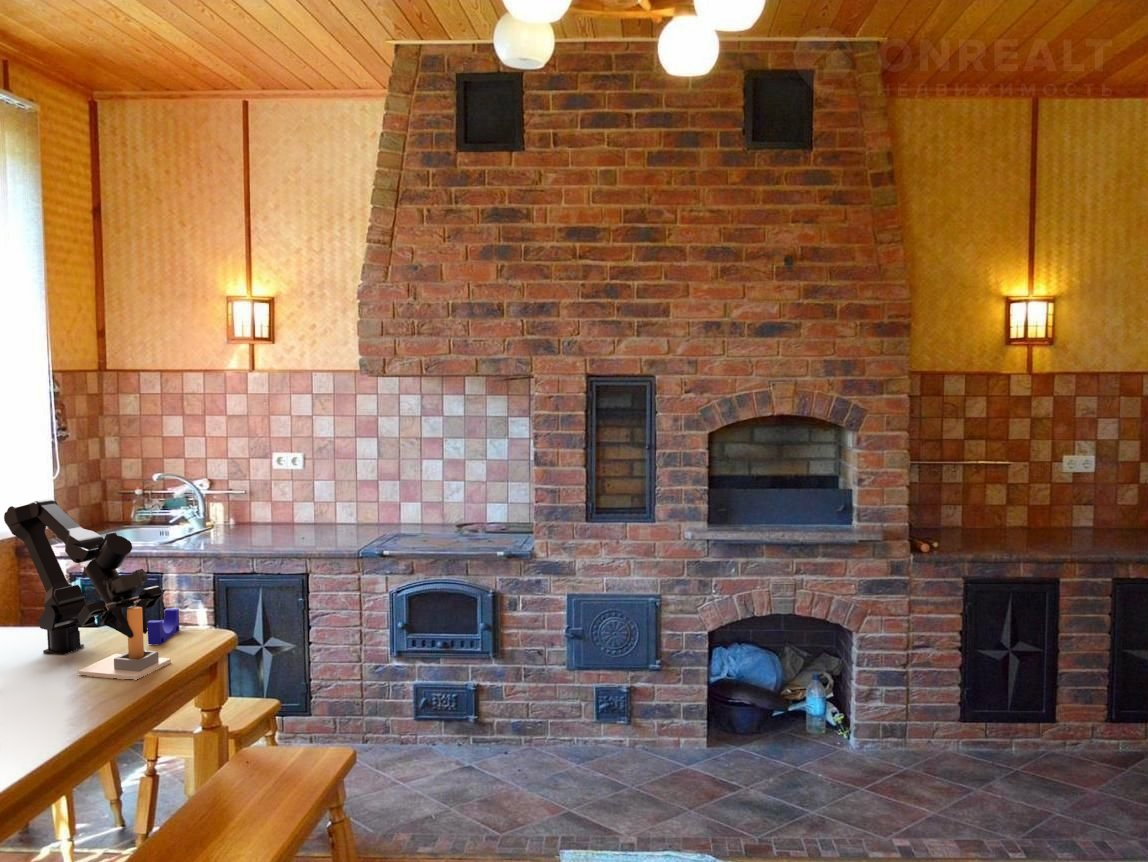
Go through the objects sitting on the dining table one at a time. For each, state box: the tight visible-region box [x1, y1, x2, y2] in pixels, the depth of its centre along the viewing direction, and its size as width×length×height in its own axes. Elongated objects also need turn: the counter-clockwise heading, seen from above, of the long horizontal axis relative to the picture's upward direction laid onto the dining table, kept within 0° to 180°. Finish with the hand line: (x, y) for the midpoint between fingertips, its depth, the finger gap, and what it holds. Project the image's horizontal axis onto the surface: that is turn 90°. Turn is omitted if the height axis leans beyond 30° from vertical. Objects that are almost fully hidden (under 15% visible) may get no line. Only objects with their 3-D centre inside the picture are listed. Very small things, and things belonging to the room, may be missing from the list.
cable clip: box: [146, 608, 180, 646], centre depth 236 cm, size 12×4×6 cm, turn 1°
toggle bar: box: [126, 607, 145, 659], centre depth 212 cm, size 3×3×12 cm
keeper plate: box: [77, 649, 172, 681], centre depth 214 cm, size 15×12×4 cm
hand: (139, 634), depth 212 cm, fingers closed on toggle bar, 3 cm apart
